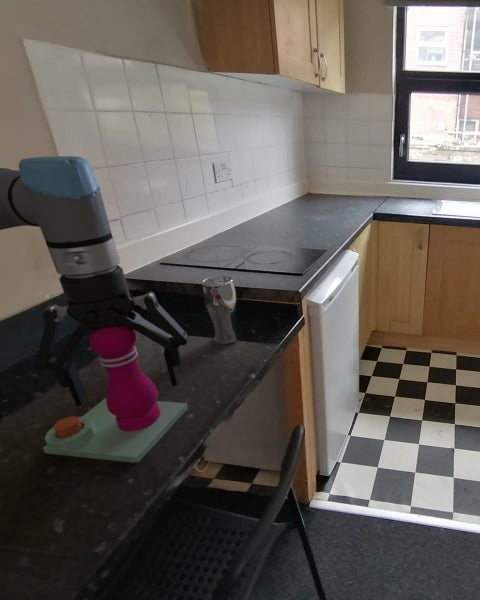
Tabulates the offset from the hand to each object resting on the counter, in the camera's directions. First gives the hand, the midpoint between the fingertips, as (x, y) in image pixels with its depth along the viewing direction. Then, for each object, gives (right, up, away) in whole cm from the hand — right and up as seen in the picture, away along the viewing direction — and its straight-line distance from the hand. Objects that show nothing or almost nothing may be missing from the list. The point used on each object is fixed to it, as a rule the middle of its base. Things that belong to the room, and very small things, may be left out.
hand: (130, 390), depth 67 cm
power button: (-8, -6, -2) cm, 10 cm away
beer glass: (+3, +6, +31) cm, 31 cm away
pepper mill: (0, -6, +3) cm, 6 cm away
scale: (-3, -7, +2) cm, 8 cm away
